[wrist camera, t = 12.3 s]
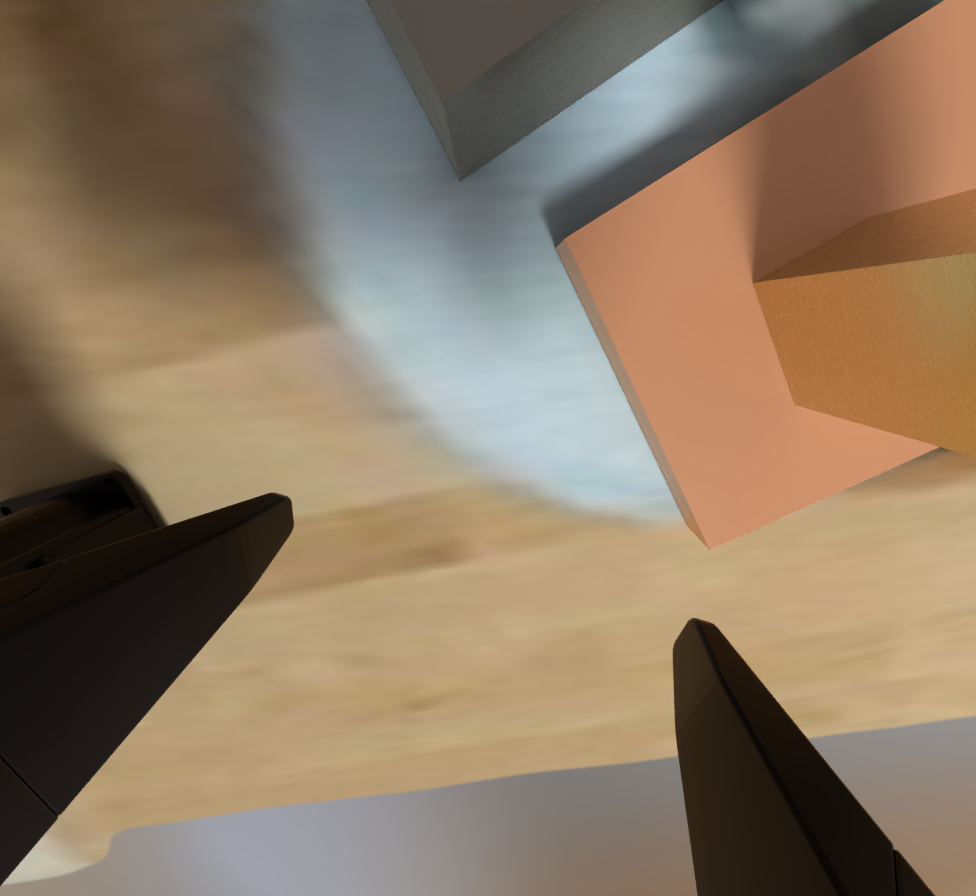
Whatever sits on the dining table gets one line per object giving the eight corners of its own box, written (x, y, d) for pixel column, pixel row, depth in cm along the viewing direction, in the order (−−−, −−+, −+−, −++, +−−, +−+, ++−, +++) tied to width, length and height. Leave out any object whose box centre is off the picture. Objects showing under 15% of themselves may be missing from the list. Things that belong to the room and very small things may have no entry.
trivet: (687, 526, 19) (709, 549, 17) (555, 248, 15) (564, 238, 13) (1002, 381, 17) (1068, 389, 15) (937, 9, 13) (1016, -45, 11)
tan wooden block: (789, 407, 15) (1096, 500, 7) (746, 285, 14) (1067, 245, 6) (909, 348, 14) (1388, 381, 7) (876, 213, 13) (1428, 62, 5)
